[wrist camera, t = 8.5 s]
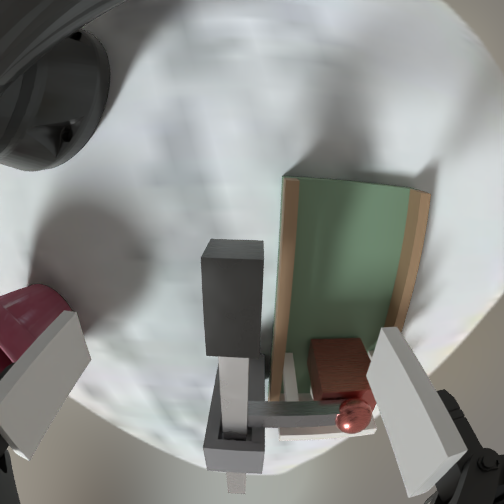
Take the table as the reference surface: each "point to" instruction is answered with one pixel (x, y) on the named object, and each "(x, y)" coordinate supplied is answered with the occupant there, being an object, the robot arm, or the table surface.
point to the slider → (248, 346)
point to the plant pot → (26, 319)
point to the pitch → (327, 295)
